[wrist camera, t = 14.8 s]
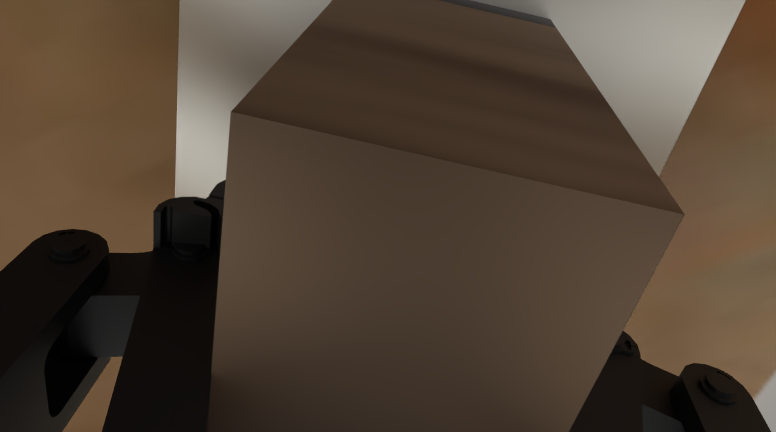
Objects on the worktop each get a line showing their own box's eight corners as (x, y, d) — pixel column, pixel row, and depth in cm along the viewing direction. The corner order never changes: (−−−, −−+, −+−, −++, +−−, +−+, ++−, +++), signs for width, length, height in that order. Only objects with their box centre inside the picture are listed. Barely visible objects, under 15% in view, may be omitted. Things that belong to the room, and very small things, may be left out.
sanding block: (356, -27, 15) (230, 111, 6) (550, 19, 15) (684, 215, 6) (304, 286, 20) (194, 601, 11) (449, 318, 20) (450, 653, 12)
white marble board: (206, -173, 15) (183, -177, 14) (738, -45, 16) (765, -37, 14) (181, 441, 27) (168, 470, 26) (479, 504, 28) (481, 536, 26)
